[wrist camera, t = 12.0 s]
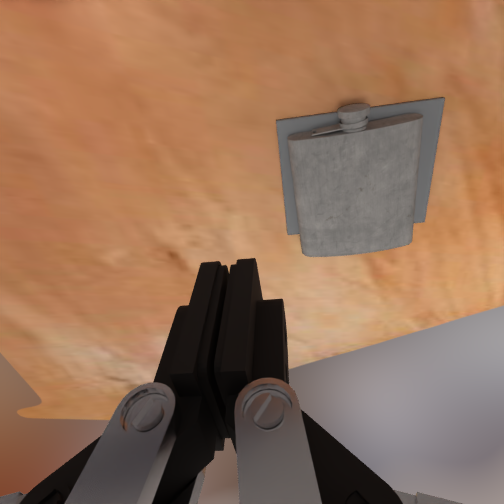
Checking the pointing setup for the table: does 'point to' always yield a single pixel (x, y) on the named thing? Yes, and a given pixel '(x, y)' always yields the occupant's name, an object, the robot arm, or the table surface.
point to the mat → (427, 108)
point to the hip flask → (356, 182)
